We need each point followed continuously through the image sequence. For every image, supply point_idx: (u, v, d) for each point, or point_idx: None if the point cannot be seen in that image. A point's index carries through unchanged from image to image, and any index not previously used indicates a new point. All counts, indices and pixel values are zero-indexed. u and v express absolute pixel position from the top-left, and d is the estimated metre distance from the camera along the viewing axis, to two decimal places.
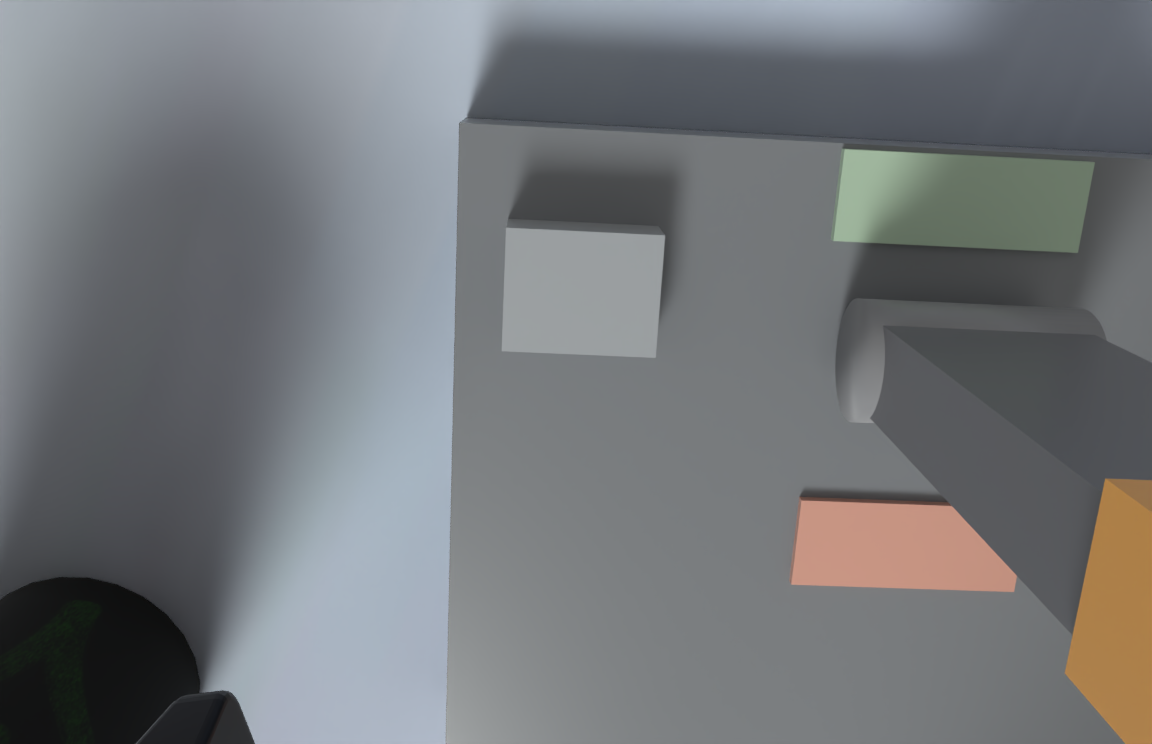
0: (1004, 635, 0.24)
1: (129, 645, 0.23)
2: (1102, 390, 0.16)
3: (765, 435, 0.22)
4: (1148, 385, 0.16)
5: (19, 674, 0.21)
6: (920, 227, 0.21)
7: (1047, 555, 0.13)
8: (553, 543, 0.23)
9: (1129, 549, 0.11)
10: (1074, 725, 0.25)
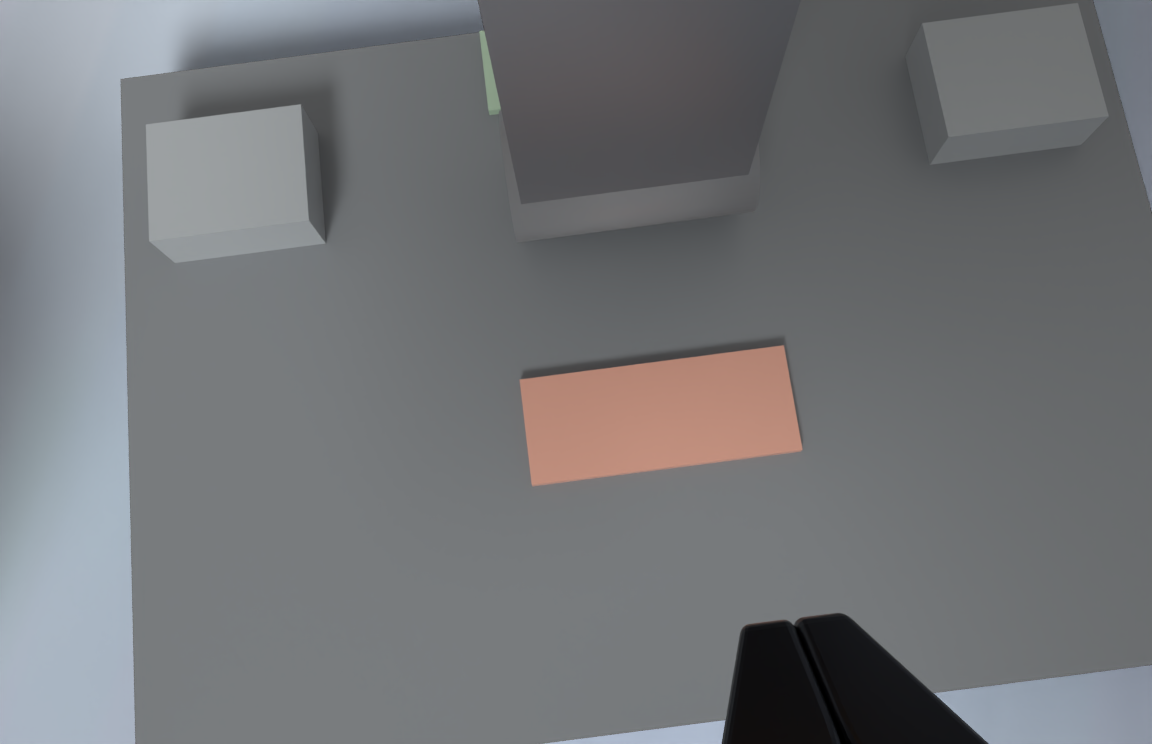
0: (816, 516, 0.19)
1: None
2: None
3: (467, 319, 0.20)
4: None
5: None
6: None
7: None
8: (249, 485, 0.20)
9: None
10: (955, 629, 0.19)
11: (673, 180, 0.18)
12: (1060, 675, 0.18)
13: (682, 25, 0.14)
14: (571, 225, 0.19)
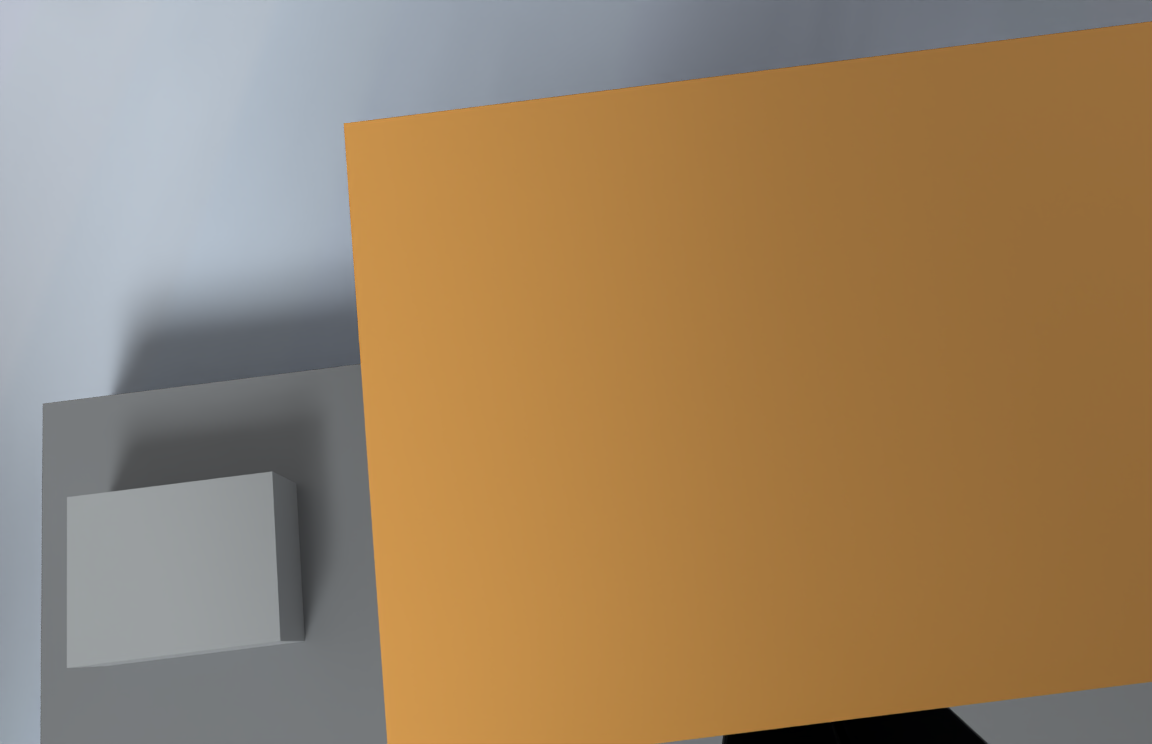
0: None
1: None
2: None
3: None
4: None
5: None
6: None
7: None
8: None
9: None
10: None
11: None
12: None
13: None
14: None
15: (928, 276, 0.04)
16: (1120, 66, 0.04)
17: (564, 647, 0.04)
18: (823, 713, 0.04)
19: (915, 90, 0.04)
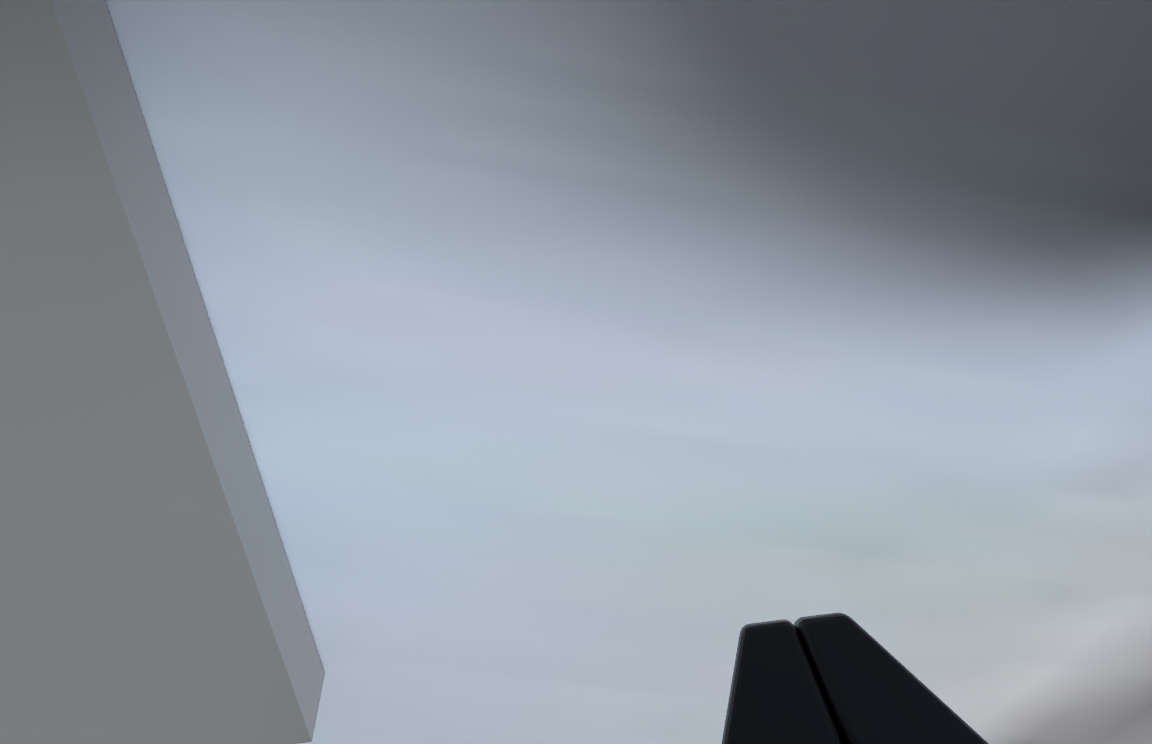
0: None
1: None
2: None
3: None
4: None
5: None
6: None
7: None
8: (38, 699, 0.22)
9: None
10: (9, 84, 0.16)
11: None
12: None
13: None
14: None
15: None
16: None
17: None
18: None
19: None
